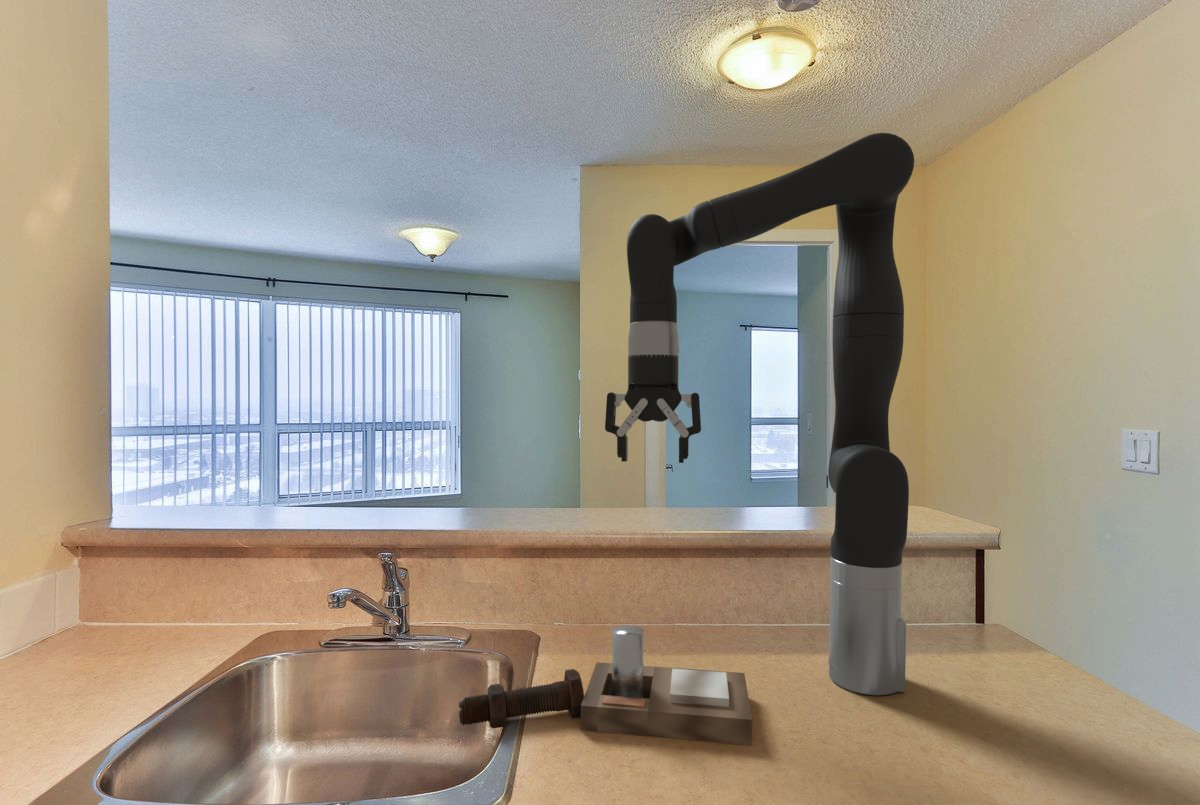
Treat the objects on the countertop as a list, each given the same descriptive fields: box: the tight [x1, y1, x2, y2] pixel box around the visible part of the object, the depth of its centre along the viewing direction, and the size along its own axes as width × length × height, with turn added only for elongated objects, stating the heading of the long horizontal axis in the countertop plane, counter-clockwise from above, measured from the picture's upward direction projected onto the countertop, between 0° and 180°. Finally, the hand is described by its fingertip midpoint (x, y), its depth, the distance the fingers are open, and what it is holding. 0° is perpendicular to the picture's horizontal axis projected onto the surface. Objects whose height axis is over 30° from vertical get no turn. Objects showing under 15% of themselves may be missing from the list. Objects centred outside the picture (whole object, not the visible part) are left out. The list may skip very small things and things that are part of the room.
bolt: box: [458, 668, 585, 729], centre depth 77 cm, size 6×5×15 cm
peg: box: [611, 624, 645, 698], centre depth 80 cm, size 4×4×10 cm
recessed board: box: [580, 661, 753, 747], centre depth 79 cm, size 20×12×4 cm, turn 81°
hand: (652, 461), depth 94 cm, fingers open, 8 cm apart
